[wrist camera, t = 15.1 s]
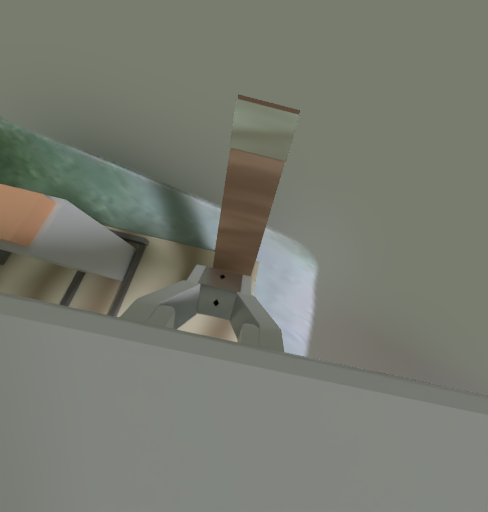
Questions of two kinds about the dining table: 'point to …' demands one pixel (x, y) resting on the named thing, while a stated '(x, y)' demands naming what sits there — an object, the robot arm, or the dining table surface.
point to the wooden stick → (252, 180)
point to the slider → (60, 234)
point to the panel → (114, 291)
